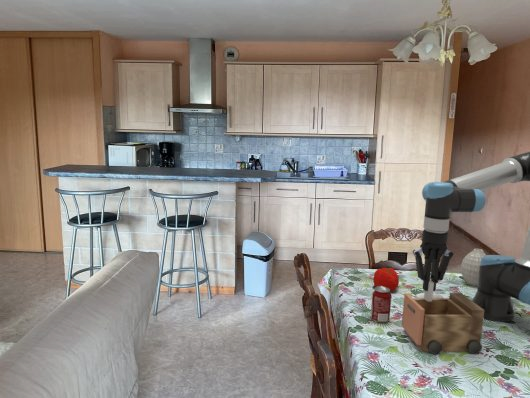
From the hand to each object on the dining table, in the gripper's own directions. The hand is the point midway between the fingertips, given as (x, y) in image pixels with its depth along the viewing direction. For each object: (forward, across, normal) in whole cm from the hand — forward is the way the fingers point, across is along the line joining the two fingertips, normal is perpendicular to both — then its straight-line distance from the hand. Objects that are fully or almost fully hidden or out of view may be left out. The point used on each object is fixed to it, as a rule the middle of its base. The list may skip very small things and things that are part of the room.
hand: (427, 299), depth 137 cm
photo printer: (+15, -7, -9) cm, 18 cm away
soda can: (+15, +10, -16) cm, 24 cm away
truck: (+14, -6, 0) cm, 16 cm away
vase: (+14, -48, -52) cm, 72 cm away
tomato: (+15, -4, -46) cm, 48 cm away
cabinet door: (+13, +4, 0) cm, 13 cm away
